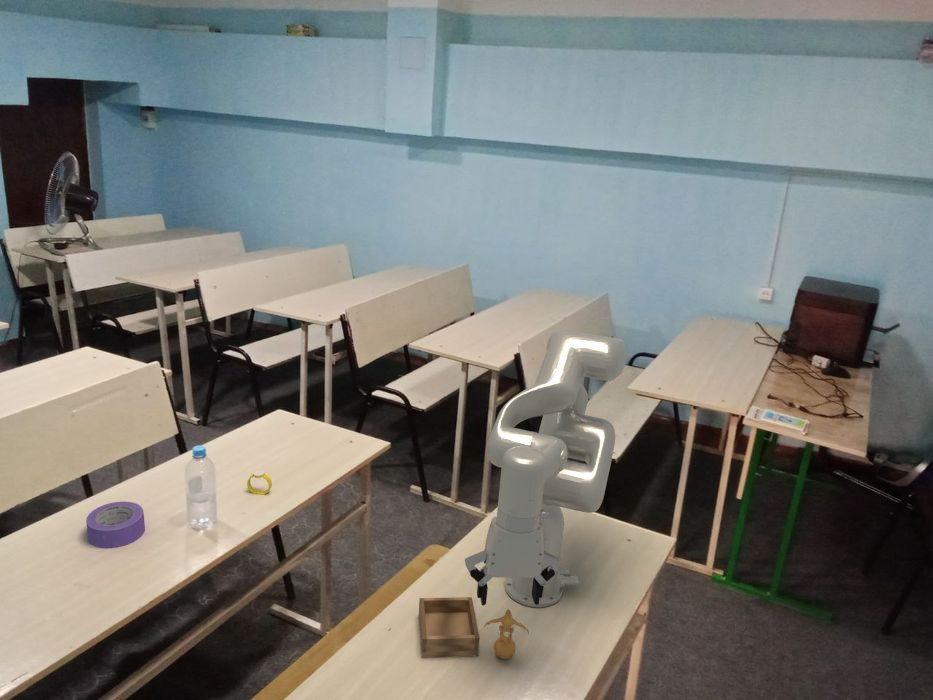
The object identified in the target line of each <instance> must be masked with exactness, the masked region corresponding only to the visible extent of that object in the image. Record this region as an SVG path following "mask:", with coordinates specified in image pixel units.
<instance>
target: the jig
mask: <svg viewBox="0 0 933 700" xmlns="http://www.w3.org/2000/svg"><path fill="white" fill-rule="evenodd" d="M418 607H419V608H418V624H419V625H418V626H419V641H420V653H421V658H422V659H423V658H448V657H449V658H452V657H453V658H454V657H459V658H460V657H478V656H479V647H480V634H479V628H478V623H477V618H476V612H475V606H474V600H473V597H472V596H468V597H467V596H463V597H461V596H460V597H459V596H457V597H456V596H455V597H419V602H418Z"/></svg>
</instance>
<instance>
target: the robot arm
mask: <svg viewBox="0 0 933 700" xmlns="http://www.w3.org/2000/svg"><path fill="white" fill-rule="evenodd" d="M627 357H628V349H627V344H626V343H625V341H624V340H623V339H621V338H617V337H610V336H606V335H599V334H593V333H587V332H582V331H577V330H576V331H575V330H557V331H556V332H555V331H554V332H553V333H551V335H549V337H548V340H547V344H546V353H545V355H544V358H543V361H542V363H541V366H540V369H539V372H538V373H537V377H536V379H535V383H534V385H532V386H530V387H528V388H525V389H523V391H521V392H519V393H518V394H516V395H514V396H513V397H512V398H510V399H509V400H508V401H507V402H506V403H505V404H504V405H503V407H502V408H501V409H500V411H499V413H498V414H497V417H496V419H495V422H494V424H493V428H492V431H491V433H490V434H489V439H488V441H487V447H486V451H487V452H486V453H487V458H488V460H489V462H490V463H491V464H492V465H494V466H496V467H497V468H501V469H500V470H501V471H500V481H499V491H498V502H497V510H496V516H494V517H492V519H491V521H490V524H489V527H488V530H487V534H486V538H485V539H486V540H485V543H484V544H485V545H484V550H482V551H480V552H479V551H478V552H477V553H474V554H473V555H470V556H467V557H466V558H465V559H464V564H465V567H466V569H467V570H468V572H469V576H470V577H471V578H472V579H473V580H474V581H476V583H477V588H476V596H477V598H478V599H480V603H481V606H486V605H487V597H488V596H487V595H488V590H489V589H488V582H490V581H491V579H492V578H498V579H499V578H504V579H505V580H504V589H505V591H506V593H507V595H508V596H509V597H511V599H512V600H514V601H516V602H517V603H519V604H522V605H523V606H527V607H531V608H544V607H545V608H546V607H550V606H553V605H555V604H556V603H558V602H559V601H560V600H561V598H562V596H563V592H564V587H565V586H579V585H580V578H579V576H578V575H571V571H570V569H569V570H567V569H566V570H560V569H559V568H561V566H562V561H561V552H562V543H563V535H564V529H565V517H564V514H563V511H562V508H564V509H569V510H572V511H576V512H577V511H578V512H581V513H588V514H591V513H594V512H595V513H596V512H597V511H599V508H600V507H601V505H602V503H603V501H604V498H605V497H604V496H605V491H606V488H607V482H608V478H609V474H610V473H609V472H610V469H611V464H612V460H613V455H614V450H615V443H616V429H615V427H614V425H613V424H612V422H610V420H607V419H605V418H601V417H596V416H593V415H586V410H587V406H588V402H589V394H588V391H587V390H586V388H585V386H584V384H583V382H582V381H583V378H589V379H595V380H599V381H607V382H611V381H613V380H615V379H616V378H618V377H619V376H620V375H621V374H622V372H624V371H623V370H624V368H625V366H626V363H627V360H628V359H627ZM541 416H542V419H541V423H540V426H539V430H538V432H537V431H532V430H531V431H530V430H525V429H521V428H517V427H516V426H517V425H518V424H519V423H521V422H523V421H525V420H528V419H532V418H536V417H541ZM568 458H569V459H574V460H577V461H574V460H569V459H568ZM580 461H581V462H580ZM583 462H585V463H583ZM480 563H483V564H484V565H483V566H482V568H480V569H479V568H477V567H476V565H478V564H480Z"/></svg>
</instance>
